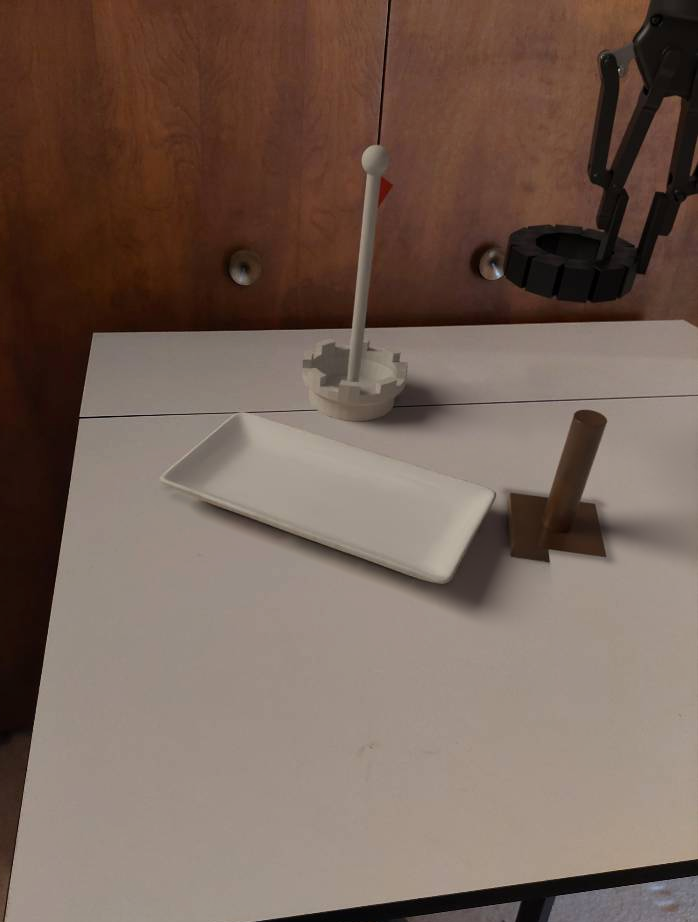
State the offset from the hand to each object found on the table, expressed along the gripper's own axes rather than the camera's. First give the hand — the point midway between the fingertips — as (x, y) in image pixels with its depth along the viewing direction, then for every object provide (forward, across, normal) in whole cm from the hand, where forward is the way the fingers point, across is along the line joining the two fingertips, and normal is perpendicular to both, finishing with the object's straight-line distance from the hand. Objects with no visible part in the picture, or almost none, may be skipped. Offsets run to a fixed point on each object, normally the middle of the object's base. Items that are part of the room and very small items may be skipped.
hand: (620, 266), depth 75 cm
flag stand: (+25, +25, -13) cm, 37 cm away
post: (+25, +1, +10) cm, 27 cm away
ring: (+2, +5, 0) cm, 5 cm away
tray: (+25, +24, +11) cm, 37 cm away
